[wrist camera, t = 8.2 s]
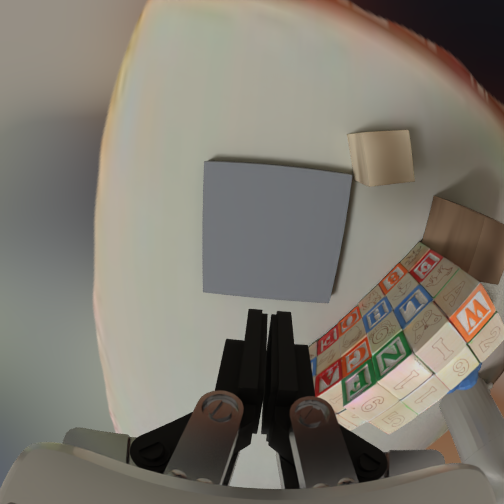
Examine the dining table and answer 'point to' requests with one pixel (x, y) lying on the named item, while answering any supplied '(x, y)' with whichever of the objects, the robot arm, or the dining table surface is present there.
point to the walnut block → (466, 239)
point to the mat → (272, 230)
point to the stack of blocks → (405, 343)
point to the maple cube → (381, 157)
